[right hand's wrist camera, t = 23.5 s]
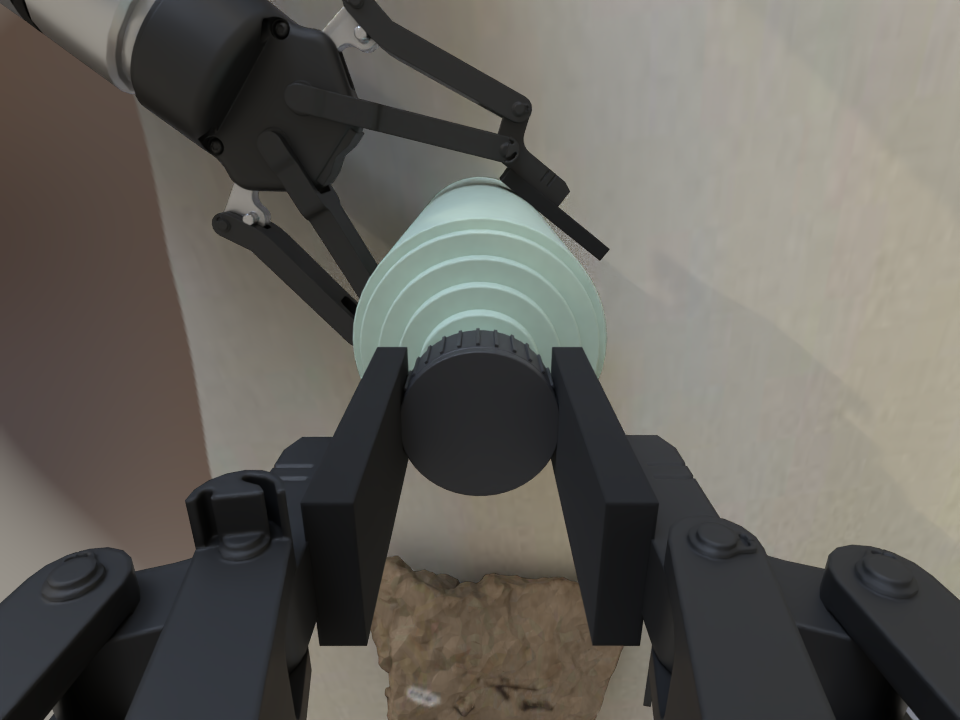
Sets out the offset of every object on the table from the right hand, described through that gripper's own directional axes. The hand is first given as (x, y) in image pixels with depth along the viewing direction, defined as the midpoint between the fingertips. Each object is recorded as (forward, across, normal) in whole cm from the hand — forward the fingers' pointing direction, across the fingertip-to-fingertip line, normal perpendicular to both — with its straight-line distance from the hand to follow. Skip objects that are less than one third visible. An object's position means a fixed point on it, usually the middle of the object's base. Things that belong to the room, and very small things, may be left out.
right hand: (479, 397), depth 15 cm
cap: (-1, 0, 0) cm, 1 cm away
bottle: (+24, 0, 0) cm, 24 cm away
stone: (+24, -1, +32) cm, 40 cm away
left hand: (+17, -4, +3) cm, 18 cm away
